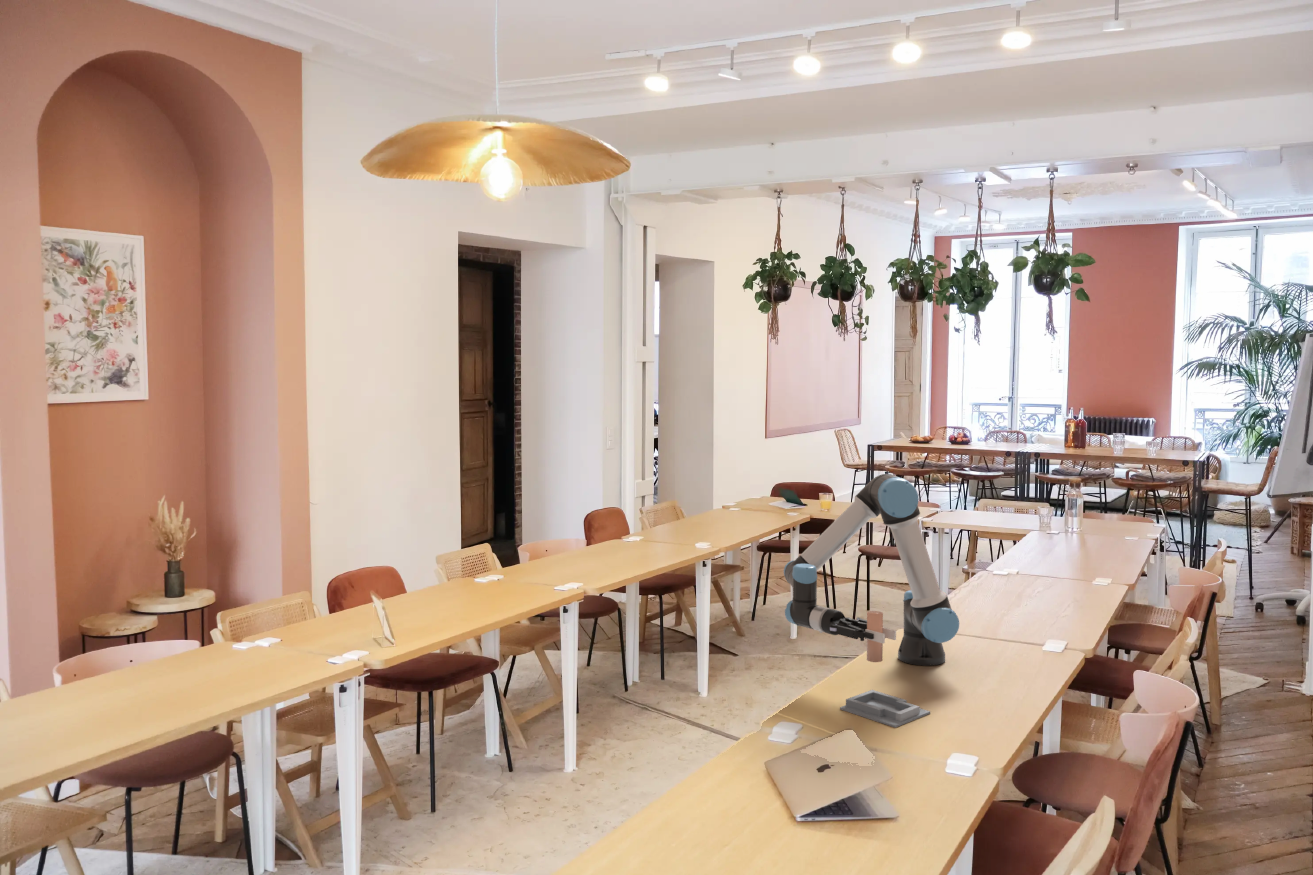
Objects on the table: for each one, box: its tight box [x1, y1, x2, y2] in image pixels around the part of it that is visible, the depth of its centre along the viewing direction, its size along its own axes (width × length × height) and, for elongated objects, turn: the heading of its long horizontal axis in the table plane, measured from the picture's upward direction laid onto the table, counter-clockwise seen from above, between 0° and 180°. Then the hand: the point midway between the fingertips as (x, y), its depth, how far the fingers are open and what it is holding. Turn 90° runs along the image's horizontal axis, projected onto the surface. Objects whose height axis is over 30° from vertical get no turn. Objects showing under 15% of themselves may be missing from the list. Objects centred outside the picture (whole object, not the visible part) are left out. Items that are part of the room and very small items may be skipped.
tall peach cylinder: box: [866, 610, 884, 663], centre depth 286 cm, size 4×4×14 cm
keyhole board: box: [839, 689, 931, 728], centre depth 276 cm, size 16×19×3 cm
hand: (889, 636), depth 282 cm, fingers closed on tall peach cylinder, 4 cm apart
